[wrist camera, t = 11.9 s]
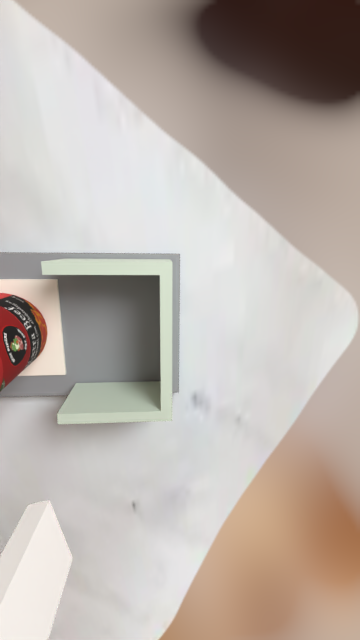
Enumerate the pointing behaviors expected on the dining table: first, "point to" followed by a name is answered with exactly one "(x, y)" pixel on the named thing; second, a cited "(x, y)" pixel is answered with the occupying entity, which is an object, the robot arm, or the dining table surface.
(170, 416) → the housing
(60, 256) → the base
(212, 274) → the dining table surface
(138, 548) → the dining table surface
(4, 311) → the canned food
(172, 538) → the dining table surface
